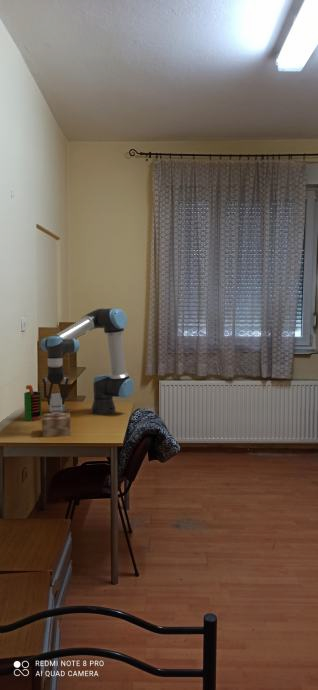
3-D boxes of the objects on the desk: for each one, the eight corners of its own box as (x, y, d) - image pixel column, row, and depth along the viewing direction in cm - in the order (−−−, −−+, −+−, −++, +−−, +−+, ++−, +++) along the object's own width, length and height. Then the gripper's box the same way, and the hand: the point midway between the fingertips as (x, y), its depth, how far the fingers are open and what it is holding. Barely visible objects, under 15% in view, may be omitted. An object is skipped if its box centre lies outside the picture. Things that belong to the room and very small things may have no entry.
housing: (70, 429, 278) (70, 410, 277) (70, 435, 264) (69, 416, 263) (43, 430, 276) (43, 411, 275) (42, 437, 262) (41, 417, 261)
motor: (35, 421, 296) (35, 387, 294) (21, 421, 298) (20, 386, 296) (43, 417, 306) (42, 384, 304) (29, 417, 308) (28, 384, 306)
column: (61, 430, 272) (60, 393, 271) (61, 432, 268) (60, 394, 266) (52, 431, 272) (51, 393, 270) (52, 433, 267) (51, 395, 265)
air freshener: (68, 412, 321) (67, 396, 321) (64, 415, 313) (64, 398, 312) (51, 411, 322) (50, 396, 322) (46, 414, 314) (46, 398, 313)
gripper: (72, 364, 272) (73, 408, 274) (38, 365, 269) (39, 409, 271) (72, 366, 265) (73, 411, 267) (37, 367, 262) (38, 412, 264)
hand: (56, 410), depth 269 cm, fingers closed on column, 5 cm apart
